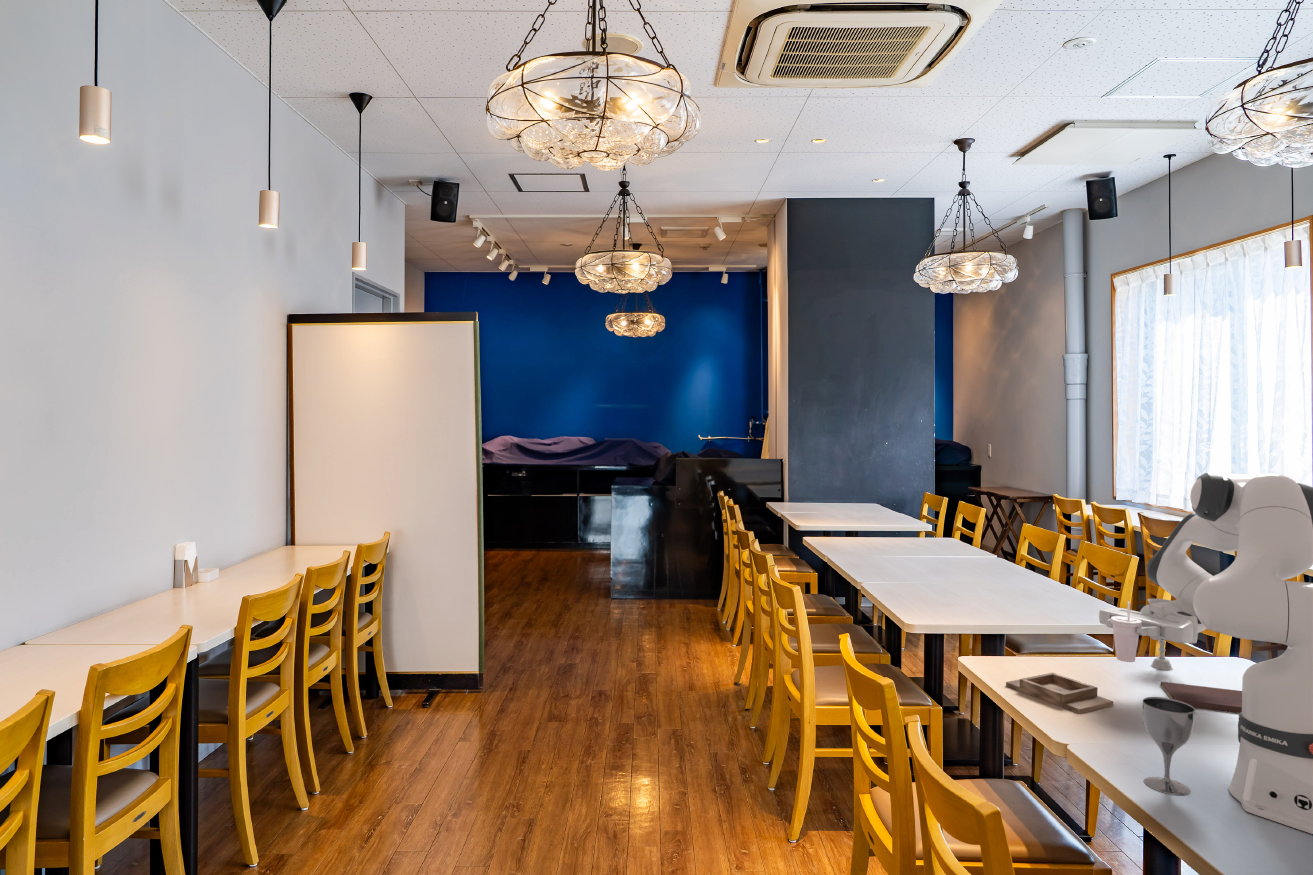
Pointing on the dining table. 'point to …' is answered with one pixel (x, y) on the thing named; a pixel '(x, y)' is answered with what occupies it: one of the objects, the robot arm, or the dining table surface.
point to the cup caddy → (1062, 692)
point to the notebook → (1205, 697)
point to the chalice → (1160, 661)
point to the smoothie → (1125, 636)
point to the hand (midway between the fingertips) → (1124, 627)
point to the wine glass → (1168, 736)
